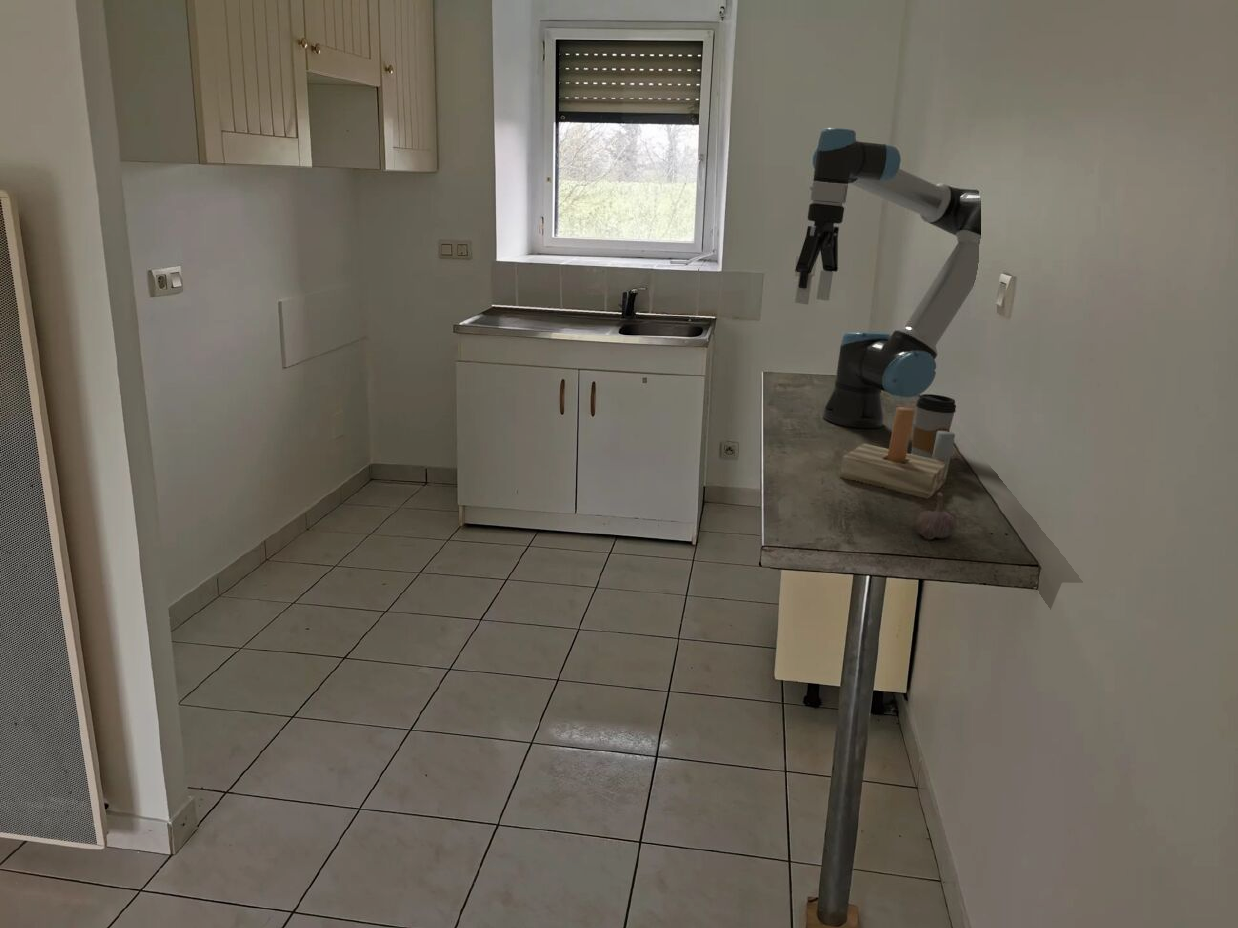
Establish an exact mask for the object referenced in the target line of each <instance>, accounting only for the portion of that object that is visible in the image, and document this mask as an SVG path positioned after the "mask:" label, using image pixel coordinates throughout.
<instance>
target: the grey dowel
mask: <svg viewBox="0 0 1238 928" xmlns="http://www.w3.org/2000/svg"><path fill="white" fill-rule="evenodd" d="M955 438H956V434H955V433H953V432H951V431H950V432H947V431H937V435H936V440H935V445H934V450H933V455H932V459H935V460H940V461H944V462H949V463H948V468H947V473H946V478H945V482H946V481H947V477H948V471H949V466H950V462H951V458H952V452H953V447H954V442H955Z"/></svg>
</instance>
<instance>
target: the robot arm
mask: <svg viewBox="0 0 1238 928" xmlns="http://www.w3.org/2000/svg"><path fill="white" fill-rule="evenodd" d="M856 137H857V133H856V131H855V130H853V129H848V128H839V127H826V128H823V129H822V130H821V132H820V136H819V139H818V143H817V148H816V149H815V151H814V153H813V156H812V166H813V168H814V172H813V180H812V185H811V186H810V187H809V190H810V191H811V192H810V200H811V201H812V202H811V203H810V204H809V206H808V213H807V220H808V221H809V222H813V223H814V224H813V225H808V226H807V228H806V234H805V235H806V236H805V238H804V241H803V244H802V246H801V247H802V248H801V251H800V253H799V258H798V259H797V263H796V266H795V270H794V271H795V273H799V275H798V282H797V287H796V295H795V300H794V303H795V304H801V305H809V301H810V295H811V287H812V281H813V273H812V271H813V269H814V266H815V264H816V261H817V259H818V257H819V255H820V257H821V265H822V266H821V267H822V269H821V270H820V274H819V279H818V281H819V282H818V287H817V293H816V300H822V301H826V302H827V301H829V300H830V294H831V288H832V281H833V276H834V275H833V274H834V272H836V273H837V272H838V270H839V267H838V266H839V265H838V264H839V261H838V260H839V258H838V257H839V254H838V253H839V252H838V251H839V245H838V244H839V230H840V229H839V226H835V224H837V225H839V224H842V222H843V219H844V213H845V208H844V206H843V204H846V201H847V195H848V188H849V185H852V186H854V187H856V188H859V189H861V190H863V191H866V192H868V193H869V194H870V193H871V194H873V195H874V196H878V197H880V198H881V199H884V200H886V201H889V202H891V203H893V204H895V205H898V206H900V207H902V208H904V209H907V210H909V211H911V212H914V213H915V214H918V215H920V216H919V217H920V218H921V219H922V220H923V221H924V222H926V223H928V224H931V225H932V226H935V227H936V228H939V229H941V230H943V231H944V232H947V233H949V234H951V235H954V236H956V239H957V244H956V245H955V247H954V248H953V250H952V252H951V253H950V255H948V256H949V257H948V258H947V259H946V261H945V263H944V264H943V266H942V267H941V268H940V269H941V270H940V271H939V273H937V275H936V277H935V279H934V280H933V281H932V283H931V285H930V287H929V288H928V289H927V291H926V292H925V294H924V295H923V298H922V299H921V301H920V302H919V304H918V305H917V307H916V308H915V310H914V311H913V313H912V314H911V316H910V317H909V319H908V321H907V322H906V324H905V325H904V327H901V328H897V329H895V330H894V331H893V333H892V334H890V333H886V332H870V331H847V332H845V333H844V334H843V336H842V340H841V344H840V345H839V355H838V363H837V367H836V375H835V381H834V387H833V390H832V392H831V394H830V396H829V398H828V400H827V401H826V404H825V405H824V407H823V412H822V418H823V419H824V420H825V421H827V422H830V423H833V424H836V425H840V426H844V427H850V428H857V429H878V428H881V427H883V424H884V423H883V422H884V417H885V416H884V411H883V403H882V397H881V393H882V391H883V392H886V393H888V394H889V395H891V396H895V397H901V398H905V399H906V398H907V399H909V398H914V397H918V396H921V395H922V394H923V393H924V392H925V391H927V389H929V387H930V386H931V385H932V383H933V381H934V379H935V377H936V374H937V372H936V369H937V362H936V358H937V356H938V355H939V354H938V350H937V345H938V343H939V341H940V340H941V338H942V337H943V335H944V333H945V332H946V330H947V329H948V327H949V326H950V324H951V322H952V321H953V319H954V318H955V316H956V315H957V314H958V311H959V310H960V308H961V307H962V305H964V302H965V300H967V298H968V296H969V295H970V293H971V291H972V290H973V288H974V287H975V285H974V283H975V280H976V275H977V270H978V263H979V244H980V239H981V199H980V195H979V191H978V190H979V189H970V188H969V189H968V188H957V187H953V186H950V185H947V184H945V183H937V184H934V183H933V182H929V181H928V180H925V179H923V178H920V177H919V176H916V175H915V174H913V173H910V172H908V171H906V170H903V169H901V168H900V165H901V158H902V157H901V153H900V151H899V150H898V148H896V146H893V145H889V144H886V143H873V142H865V141H860V140H859V141H857V138H856ZM973 286H974V287H973Z"/></svg>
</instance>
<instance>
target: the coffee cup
mask: <svg viewBox="0 0 1238 928" xmlns="http://www.w3.org/2000/svg"><path fill="white" fill-rule="evenodd" d="M915 406H916V411H915V412H916V413H915V421H914V424H913V433H912V441H911V453H910V454H913V455H917V456H922V457H926V458H931V459H932V455H933V450H934V445H935V440H936V435H937V431H947V432H951V426H952V422H953V419H954V416H955V413H956V412H957V411H956V408H957V405H956V399H954V398H952V397H949V396H944V395H939V394H931V393H924V394H923V393H921V394H920V395H919V398H918V399H917V401H916V405H915Z"/></svg>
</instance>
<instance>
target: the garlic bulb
mask: <svg viewBox="0 0 1238 928" xmlns="http://www.w3.org/2000/svg"><path fill="white" fill-rule="evenodd" d="M943 506H944V494H943V493H942V492H937V494H936V507H935V510H934V511H932V510H925V511H923V512H920V513H919V514H918V515H917V516H916V518H915V521H914V524H915V529H916V532H917V533H918V534H920V535H921V536H923V538H924V539H926V540H933V539H935V538H937V539H943V538H944V539H945V538H948V537H949V536H950V535H952V534H953V533H954V532H955V531H956V530H957V525H958V524H957V520H956V518H955V517H954V516H953V515H952V514H951V513H949V512H947V511H945V510H944V507H943Z"/></svg>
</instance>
